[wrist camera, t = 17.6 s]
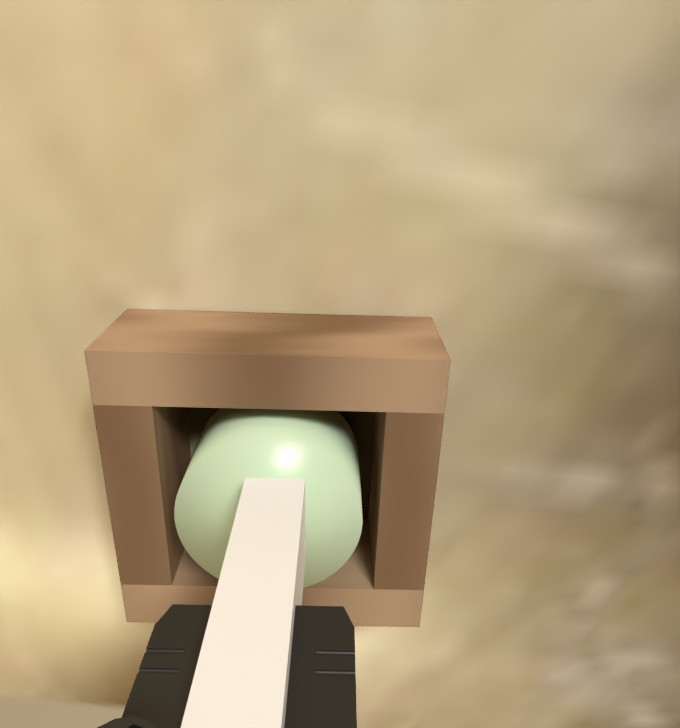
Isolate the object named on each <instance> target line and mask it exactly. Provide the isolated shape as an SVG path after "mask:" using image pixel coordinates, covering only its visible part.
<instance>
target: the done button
mask: <svg viewBox="0 0 680 728" xmlns="http://www.w3.org/2000/svg"><path fill="white" fill-rule="evenodd" d="M245 478H269V479H305V571H304V583H303V588H306V587H308V586H311V585H314V584H316V583H318V582H320V581H322V580H324V579H326V578H328V577H329V576H331V575H332V574H334V573H335V572H336V571H337V570H339V569H340V568H341V567H342V566H343V565H344V564H345V563H346V562H347V560H348V559H349V558H350V556H351V555H352V553H353V552H354V550H355V548H356V546H357V544H358V542H359V539H360V535H361V531H362V524H363V519H362V500H361V484H360V469H359V453H358V447H357V442H356V439H355V436H354V434H353V432H352V430H351V428H350V426H349V425H348V423H347V422H346V420H345V419H344V418H343V417H342V415H341V414H340V413H339V412H338V411H321V410H280V409H239V408H219V409H218V410H217V411H216V412H215V413H214V414H213V415H212V416H211V418H210V419H209V421H208V422H207V424H206V426H205V428H204V430H203V432H202V434H201V437H200V439H199V442H198V444H197V446H196V449H195V451H194V454H193V456H192V459H191V461H190V463H189V466H188V468H187V471H186V473H185V476H184V478H183V480H182V483H181V485H180V488H179V490H178V494H177V497H176V500H175V507H174V520H175V525H176V530H177V533H178V536H179V538H180V540H181V542H182V544H183V546H184V548H185V549H186V551H187V552H188V554H189V555H190V556H191V557H192V559H193V560H194V561H195V562H196V563H197V564H198V565H199V566H201V567H202V568H203V569H204V570H205V571H207V572H208V573H210V574H211V575H213V576H214V577H216V578H218V579H219V577H220V573H221V569H222V566H223V562H224V558H225V554H226V550H227V546H228V542H229V538H230V535H231V531H232V527H233V523H234V519H235V515H236V511H237V508H238V504H239V500H240V496H241V492H242V488H243V484H244V480H245Z"/></svg>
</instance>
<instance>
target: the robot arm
mask: <svg viewBox="0 0 680 728" xmlns="http://www.w3.org/2000/svg"><path fill="white" fill-rule="evenodd" d="M304 571H305V479H269V478H245V480H244V484H243V488H242V492H241V496H240V500H239V504H238V508H237V511H236V515H235V519H234V523H233V527H232V531H231V535H230V538H229V542H228V546H227V550H226V554H225V558H224V562H223V566H222V569H221V573H220V577H219V581H218V585H217V589H216V593H215V597H214V600H213V604H212V605H185V604H172V606H171V607H170V608H169V609H168V610H167V611H166V612H165V614H164V615H163V616H162V617H161V618H160V619H159V621H158V622H157V623H156V624H155V626H154V629H153V632H152V635H151V637H150V640H149V643H148V646H147V651H146V653H145V654H144V657H143V660H142V663H141V665H140V670H139V673H138V674H137V677H136V679H135V682H134V685H133V688H132V690H131V693H130V696H129V699H128V702H127V704H126V707H125V710H124V713H123V716H122V718H118V719H114V720H112V721H110V722H108V723H106V724H104V725H102V726H100V727H98V728H357V721H356V680H355V639H354V626H353V624H352V622H351V620H350V618H349V616H348V614H347V612H346V610H345V608H344V606H302V596H303V583H304Z"/></svg>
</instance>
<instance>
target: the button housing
mask: <svg viewBox="0 0 680 728" xmlns="http://www.w3.org/2000/svg"><path fill="white" fill-rule="evenodd" d="M84 352H85V358H86V364H87V371H88V377H89V384H90V390H91V396H92V403H93V409H94V415H95V422H96V428H97V435H98V441H99V447H100V454H101V460H102V466H103V473H104V479H105V485H106V492H107V498H108V505H109V511H110V517H111V524H112V530H113V536H114V543H115V549H116V556H117V562H118V568H119V575H120V581H121V587H122V594H123V600H124V606H125V613H126V619H127V622H158V621H159V619H160V618H161V617H162V616H163V615H164V614H165V612H166V611H167V610H168V609H169V608H170V607H171V606H172V604H185V605H212V604H213V600H214V597H215V593H216V589H217V585H218V581H219V579H218V578H216V577H214V576H213V575H211V574H210V573H208V572H207V571H205V570H204V569H203V568H202V567H201V566H199V565H198V564H197V563H196V562H195V561H194V560H193V559H192V557H191V556H190V555H189V554H188V552H187V551H186V549H185V548H184V546H183V544H182V542H181V540H180V538H179V536H178V533H177V530H176V525H175V520H174V507H175V500H176V497H177V494H178V490H179V488H180V485H181V483H182V480H183V478H184V476H185V473H186V471H187V468H188V466H189V463H190V461H191V456H190V444H189V432H188V420H187V408H186V407H198V408H239V409H280V410H321V411H362V412H375V421H374V437H373V453H372V469H371V485H370V501H369V517H368V520H363V524H362V531H361V535H360V539H359V542H358V544H357V546H356V548H355V550H354V552H353V553H352V555H351V556H350V558H349V559H348V560H347V562H346V563H345V564H344V565H343V566H342V567H341V568H340V569H339V570H337V571H336V572H335V573H334V574H332V575H331V576H329V577H328V578H326V579H324V580H322V581H320V582H318V583H316V584H314V585H311V586H308V587H306V588H303V596H302V606H344V608H345V610H346V612H347V614H348V616H349V618H350V620H351V622H352V624H353V626H389V627H420V618H421V610H422V601H423V593H424V584H425V575H426V567H427V558H428V550H429V541H430V533H431V524H432V515H433V507H434V498H435V490H436V481H437V472H438V464H439V455H440V447H441V438H442V430H443V421H444V412H445V404H446V395H447V387H448V378H449V369H450V361H451V360H450V358H449V356H448V353H447V351H446V349H445V347H444V344H443V342H442V340H441V338H440V336H439V333H438V331H437V329H436V327H435V324H434V322H433V320H432V318H431V317H395V316H358V315H322V314H286V313H249V312H213V311H176V310H140V309H127V310H126V311H125V312H124V313H123V314H122V315H121V316H120V317H119V318H117V319H116V320H115V321H114V322H113V323H112V324H111V325H110V326H109V327H108V328H107V329H106V330H105V331H104V332H103V333H102V334H101V335H100V336H99V337H98V338H97V339H96V340H95V341H94V342H93V343H92V344H91V345H90V346H89V347H87V348H86V349H85V350H84Z"/></svg>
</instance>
